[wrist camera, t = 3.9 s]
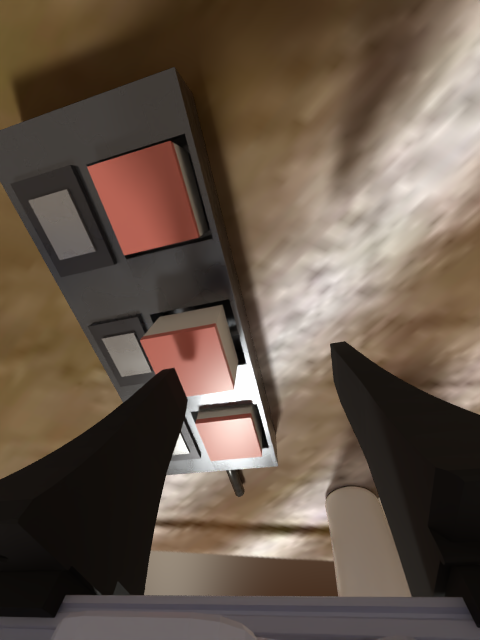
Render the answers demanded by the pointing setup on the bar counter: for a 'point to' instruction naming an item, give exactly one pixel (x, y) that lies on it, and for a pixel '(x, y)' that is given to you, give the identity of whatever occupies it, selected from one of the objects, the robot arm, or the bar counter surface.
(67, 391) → the bar counter surface
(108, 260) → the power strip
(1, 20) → the bar counter surface
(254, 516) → the bar counter surface
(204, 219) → the button
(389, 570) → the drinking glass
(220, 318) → the button
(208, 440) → the button
